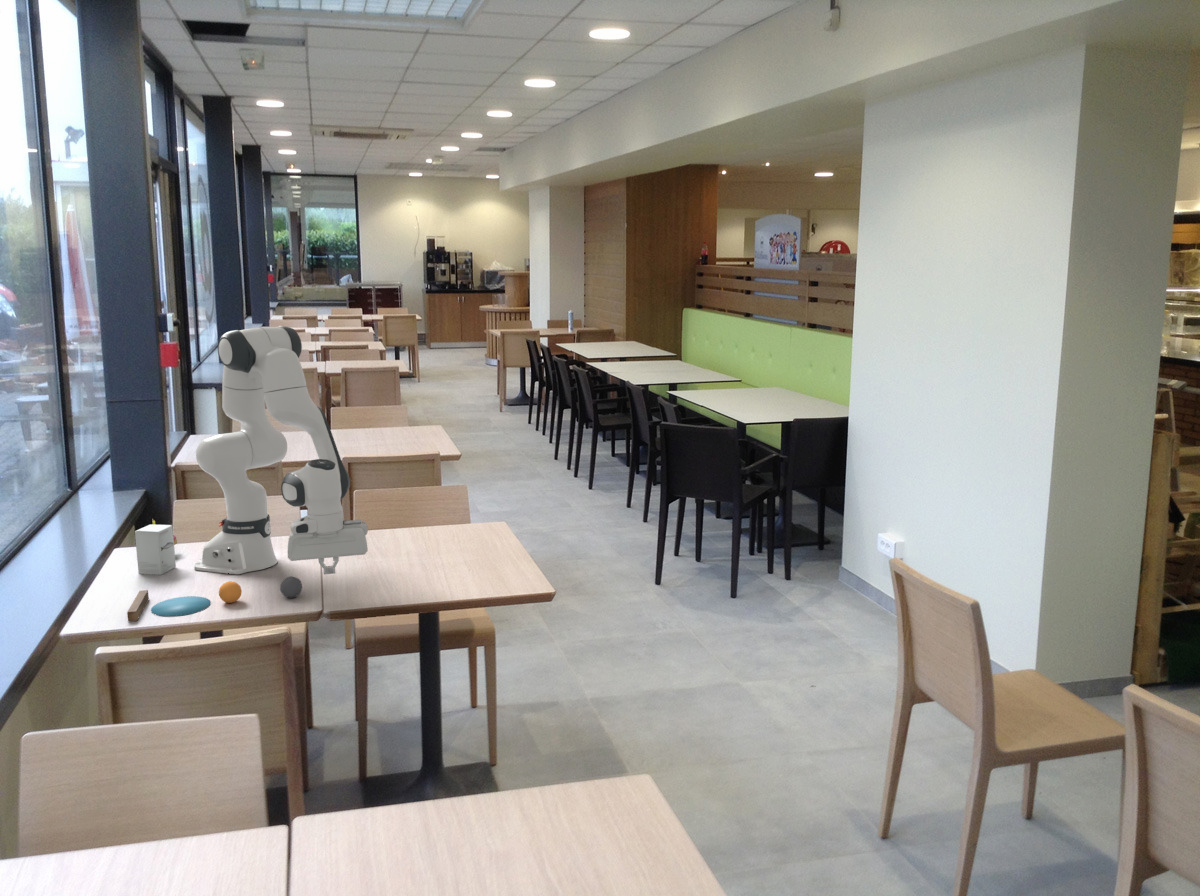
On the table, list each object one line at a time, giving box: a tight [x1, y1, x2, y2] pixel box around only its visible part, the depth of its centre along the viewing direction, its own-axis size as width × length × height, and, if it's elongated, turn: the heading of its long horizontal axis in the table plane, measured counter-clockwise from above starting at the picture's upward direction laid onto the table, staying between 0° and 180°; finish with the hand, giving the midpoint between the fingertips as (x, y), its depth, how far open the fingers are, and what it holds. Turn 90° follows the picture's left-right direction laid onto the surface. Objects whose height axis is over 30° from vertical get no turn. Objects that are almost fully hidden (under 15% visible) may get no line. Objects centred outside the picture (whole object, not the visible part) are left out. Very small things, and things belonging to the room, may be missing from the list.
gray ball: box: [279, 576, 303, 599], centre depth 259 cm, size 6×6×6 cm
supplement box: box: [134, 524, 177, 576], centre depth 280 cm, size 7×7×13 cm
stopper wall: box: [126, 589, 150, 622], centre depth 250 cm, size 2×16×2 cm, turn 14°
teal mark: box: [150, 595, 211, 617], centre depth 253 cm, size 14×14×1 cm
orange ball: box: [218, 580, 243, 604], centre depth 255 cm, size 6×6×6 cm
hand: (329, 573), depth 260 cm, fingers closed
